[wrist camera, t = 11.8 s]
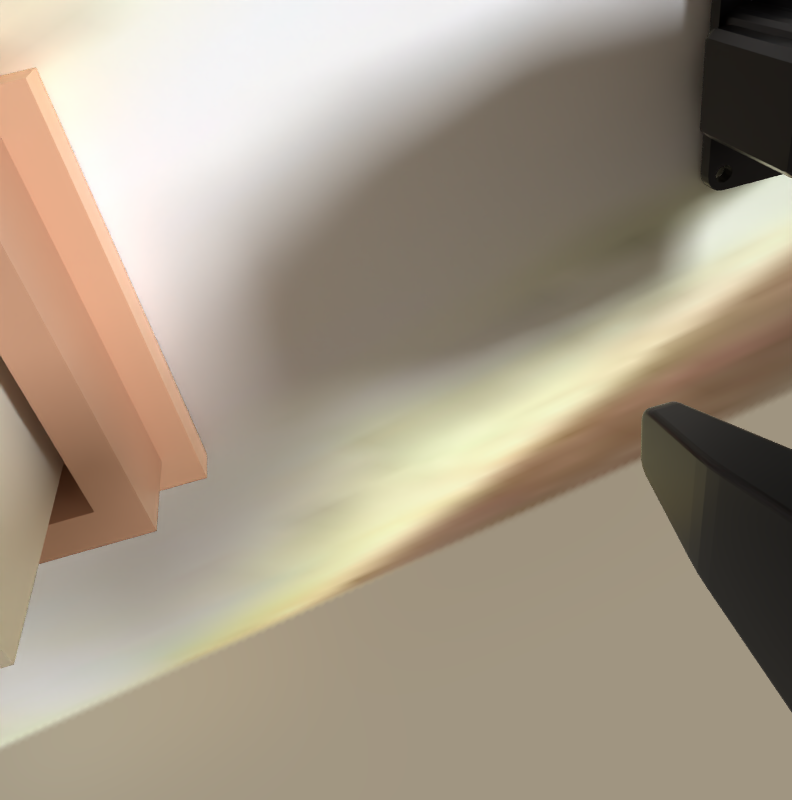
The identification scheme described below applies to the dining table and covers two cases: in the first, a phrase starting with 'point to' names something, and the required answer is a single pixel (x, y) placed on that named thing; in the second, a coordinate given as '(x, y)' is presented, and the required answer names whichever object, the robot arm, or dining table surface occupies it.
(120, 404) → the dock
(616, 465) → the dining table surface
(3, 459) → the plug
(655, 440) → the robot arm
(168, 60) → the dining table surface
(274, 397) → the dining table surface
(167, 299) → the dining table surface
